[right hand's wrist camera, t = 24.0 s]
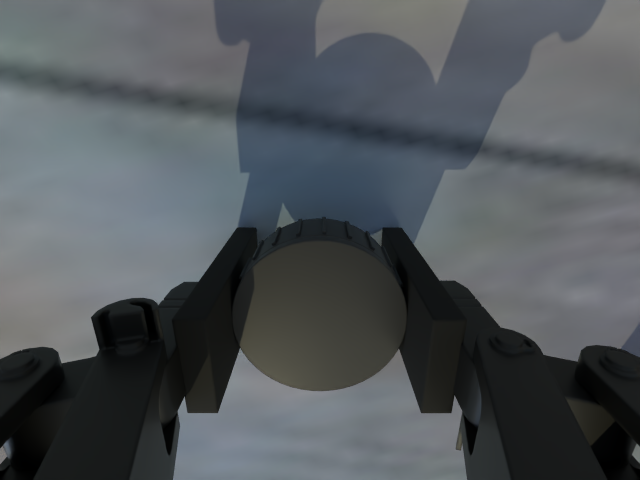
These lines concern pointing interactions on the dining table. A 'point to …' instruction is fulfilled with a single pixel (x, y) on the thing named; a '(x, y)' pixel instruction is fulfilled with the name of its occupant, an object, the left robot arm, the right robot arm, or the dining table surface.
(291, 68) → the dining table surface
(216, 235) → the dining table surface
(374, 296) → the lid
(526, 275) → the dining table surface
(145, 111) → the dining table surface
